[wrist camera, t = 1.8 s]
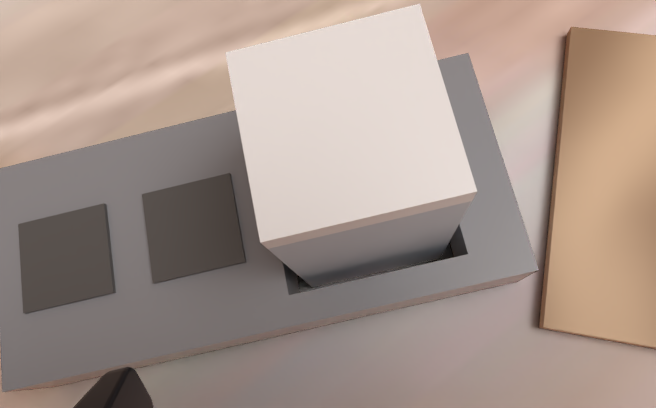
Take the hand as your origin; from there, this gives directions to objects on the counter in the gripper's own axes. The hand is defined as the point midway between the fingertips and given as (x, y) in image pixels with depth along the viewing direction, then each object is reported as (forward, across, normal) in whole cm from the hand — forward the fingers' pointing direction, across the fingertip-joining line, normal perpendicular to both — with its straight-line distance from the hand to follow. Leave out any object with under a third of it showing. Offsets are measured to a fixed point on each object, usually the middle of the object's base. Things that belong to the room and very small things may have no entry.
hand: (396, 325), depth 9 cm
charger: (+12, 0, +5) cm, 13 cm away
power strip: (+12, +4, +5) cm, 13 cm away
